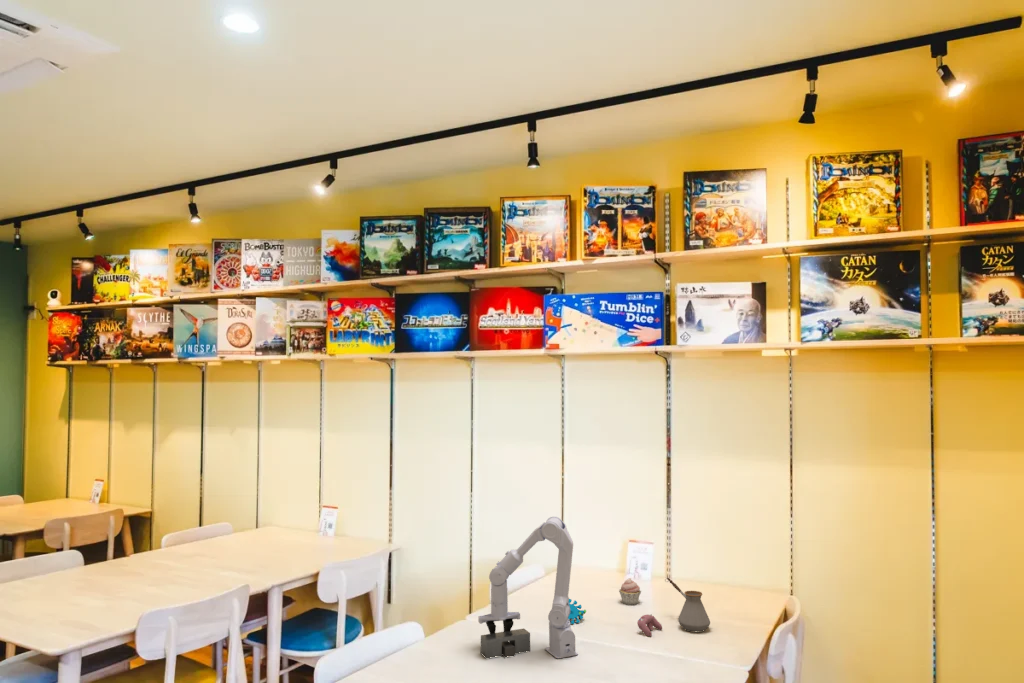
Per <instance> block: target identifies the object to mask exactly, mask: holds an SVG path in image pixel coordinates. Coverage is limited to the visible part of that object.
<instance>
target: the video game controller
mask: <svg viewBox="0 0 1024 683" xmlns="http://www.w3.org/2000/svg"><path fill="white" fill-rule="evenodd" d="M637 627H638V629H639V630H640V631H641V632H642V633H643V634H644V635H646V636H647V637H648V636H651V637H652V636H653V635H652V634H653V633H652V631H653V630H654V628H655V629H656V630H658V629H659V631H662V630H663V625H662V623H660V622H659V621H658V620H657V618H656V617H655V616H654V615H652V614H643V615H642V616H640V618H639V619H638V620H637ZM650 630H651V631H650Z"/></svg>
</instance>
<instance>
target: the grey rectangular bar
mask: <svg viewBox="0 0 1024 683" xmlns="http://www.w3.org/2000/svg"><path fill="white" fill-rule="evenodd" d="M502 654H503V655H504V656H505V657H507V656H513V657H515V656H516V654H515V646H513V645H512V644H511V643H510V642H509V641H505V642H502ZM503 655H502V656H503ZM514 655H515V656H514ZM504 656H503V657H504ZM505 657H504V658H505ZM507 658H508V657H507Z"/></svg>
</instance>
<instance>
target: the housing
mask: <svg viewBox="0 0 1024 683" xmlns="http://www.w3.org/2000/svg"><path fill="white" fill-rule="evenodd" d="M505 641H509V642H510V643H511V644H512V645H513V646H515V653H518V654H520V653H519V652H524V653H527V652H526V651H529V652H531V632H529V631H528V630H526V628H518V629H511V630H510V631H505V632H504V631H499V632H495V633H492V634H490V633H487V634H482V635H480V654H481V653H482V654H483V655H484V656H485V657H486V658H489V659H491V658H490V657H495V656H501V657H502V656H503V655H502V642H505ZM482 654H481V655H482ZM483 655H482V656H483ZM484 656H483V657H484ZM485 657H484V658H485ZM486 658H485V659H486ZM495 658H496V657H495Z"/></svg>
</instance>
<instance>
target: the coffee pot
mask: <svg viewBox="0 0 1024 683" xmlns="http://www.w3.org/2000/svg"><path fill="white" fill-rule="evenodd" d="M666 580H667V581H666ZM664 582H665V583H669V584H671V586H672V587H673V588H674V589H675V590H676V591H677V592H679V593H680V594H681V595H682V596H683V598H685V601H684V604H683V606H682V608H681V610H680V613H679V616H678V618H677V621H678V624H679V625H680V627H682V628H683V629H684V630H685V629H686V630H685V631H687V630H689V631H688V632H690V631H703V630H705V631H706V629H708V628H709V627H710V625H711V621H710V618H709V616H708V613H707V611H706V608H705V606H704V604H703V601H702V599H701V598H702V596H703V593H702V591H699V590H698V591H697V590H686V591H682V589H681V588H680V587H679V586H678V585H677V584H676V583H675V582H673V580H672V579H671V578H670V577H669V576H668V577H667V578H666V579H664ZM703 632H704V631H703Z"/></svg>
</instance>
